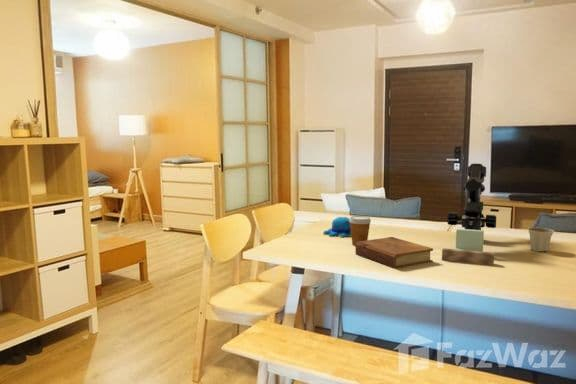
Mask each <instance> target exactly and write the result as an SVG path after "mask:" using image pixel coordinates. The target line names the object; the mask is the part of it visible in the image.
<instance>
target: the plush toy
mask: <svg viewBox="0 0 576 384" xmlns="http://www.w3.org/2000/svg"><path fill="white" fill-rule="evenodd" d="M349 220H350V217H346V216H338V217H335V218H334V219H333V220H332V223H331V228H328V230H324V231H323V232H322V233H323V235H328V236H329V237H331V238H335V237H334V236H336V237H337V236H338V238H341V237H342V239H345V238H344V237H346V238H347V237H351V228H350V222H349Z"/></svg>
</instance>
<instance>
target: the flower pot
mask: <svg viewBox="0 0 576 384" xmlns="http://www.w3.org/2000/svg"><path fill="white" fill-rule="evenodd" d="M527 231H528V234H529V243H530V250H531V249H532V250H531V251H533V250H534V252H538V251H543V252H544V251H547V252H548V251H549V247H550V244H551V239H552V236H553V234H554V233H555V231H554V230H553V229H549V228H545V227H544V228H543V227H529V228H527Z"/></svg>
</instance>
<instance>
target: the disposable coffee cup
mask: <svg viewBox="0 0 576 384" xmlns="http://www.w3.org/2000/svg"><path fill="white" fill-rule="evenodd" d="M349 219H350V220H349V222H350V228H351V236H350V237H351V243H352V244H351V245H352V246H355V247H356V243H357V242H359V241H366V240H369V233H370V232H369V231H370V225H371V222H372V220H371V217H369V216H368V215H367V216H365V215H353V216H352V215H351V216H350V217H349Z"/></svg>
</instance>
